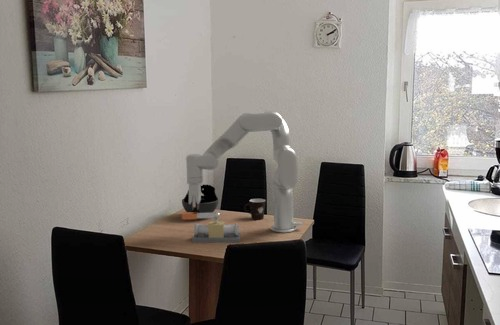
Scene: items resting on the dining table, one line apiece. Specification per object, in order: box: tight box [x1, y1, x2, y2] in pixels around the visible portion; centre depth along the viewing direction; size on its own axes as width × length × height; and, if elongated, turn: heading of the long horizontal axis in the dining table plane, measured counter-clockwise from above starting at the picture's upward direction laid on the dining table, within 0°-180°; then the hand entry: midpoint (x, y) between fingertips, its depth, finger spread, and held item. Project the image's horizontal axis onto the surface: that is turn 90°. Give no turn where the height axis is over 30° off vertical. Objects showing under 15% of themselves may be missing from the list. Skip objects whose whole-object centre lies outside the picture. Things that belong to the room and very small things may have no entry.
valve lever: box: [181, 211, 221, 220], centre depth 252 cm, size 3×18×3 cm, turn 91°
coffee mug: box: [243, 198, 266, 221], centre depth 290 cm, size 12×9×10 cm
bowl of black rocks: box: [181, 184, 219, 213], centre depth 294 cm, size 20×20×19 cm
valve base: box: [191, 218, 242, 243], centre depth 253 cm, size 22×10×10 cm, turn 88°
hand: (196, 217), depth 259 cm, fingers closed
